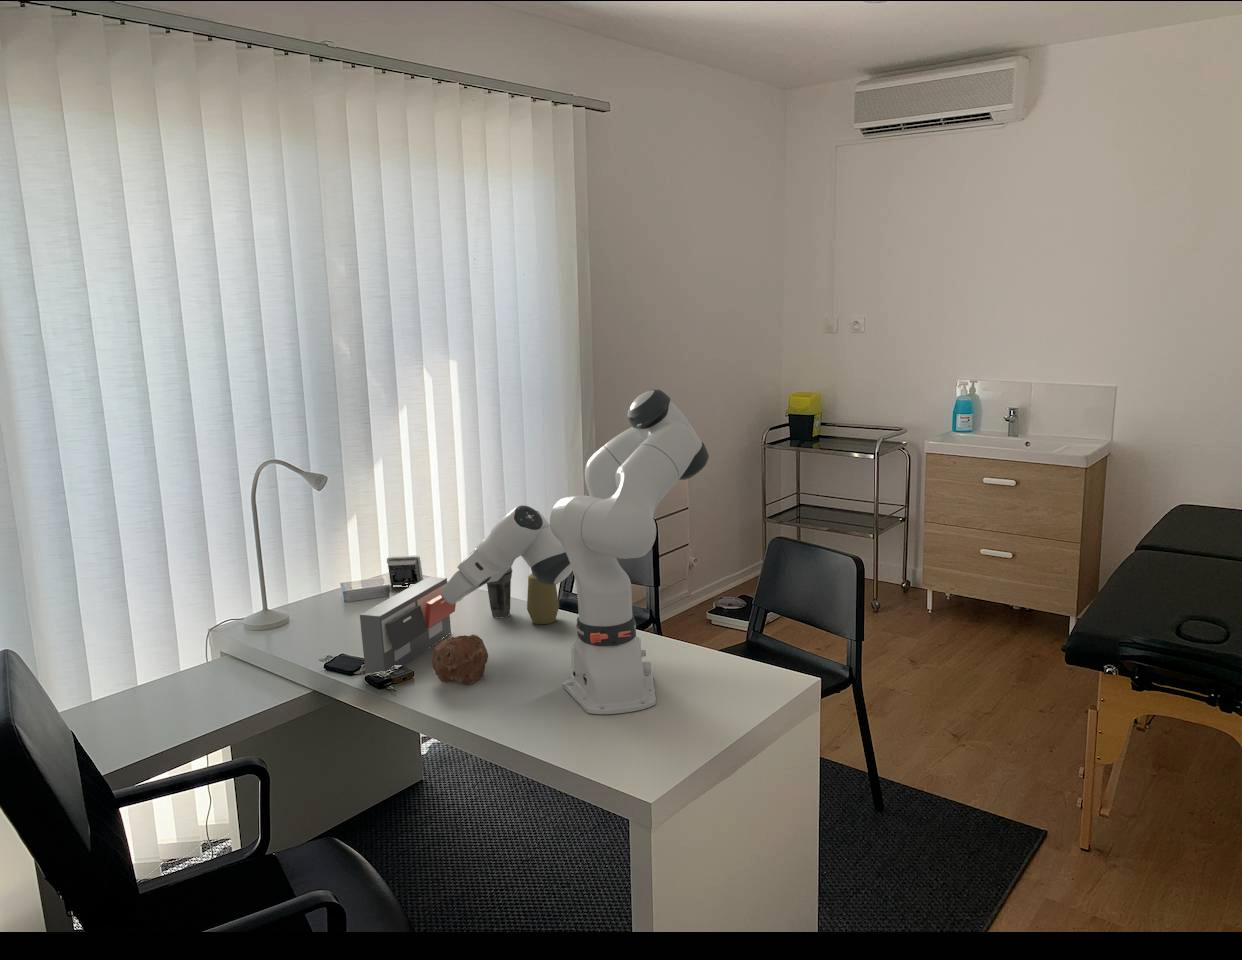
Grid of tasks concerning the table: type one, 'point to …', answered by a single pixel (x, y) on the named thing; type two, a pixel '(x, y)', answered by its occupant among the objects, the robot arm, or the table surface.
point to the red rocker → (437, 611)
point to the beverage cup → (500, 595)
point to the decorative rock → (460, 659)
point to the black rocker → (406, 627)
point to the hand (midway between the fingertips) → (455, 599)
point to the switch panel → (375, 619)
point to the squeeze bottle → (541, 601)
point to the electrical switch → (404, 570)
